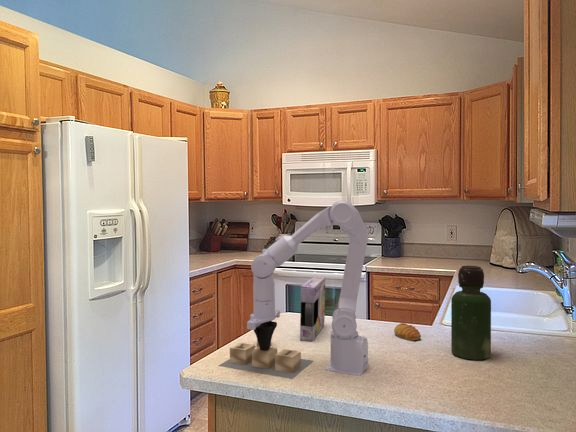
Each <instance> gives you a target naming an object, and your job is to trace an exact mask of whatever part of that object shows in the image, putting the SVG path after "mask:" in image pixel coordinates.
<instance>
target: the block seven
mask: <svg viewBox="0 0 576 432" xmlns="http://www.w3.org/2000/svg"><path fill="white" fill-rule="evenodd" d="M255 349H256V345H255V344H250V343H244V342H238V343H236V344H234V345H232V346H230V347H229V359H230V362H231V363H237V364H243V365H246V364H248V363H250V362H251V361H252V351H253V350H255Z"/></svg>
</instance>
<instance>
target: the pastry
mask: <svg viewBox="0 0 576 432" xmlns="http://www.w3.org/2000/svg"><path fill="white" fill-rule="evenodd" d="M393 332H394V334H395V336H397V338H400V339H402V340H406V341H411V342H413V341H417V340H421V338H422V335H421V333H420V331H419V329H417V328H416V327H415V326H413V325H412V324H407V323H405V322H401V323H399V324H397V325H396V326H395V327H394V329H393Z"/></svg>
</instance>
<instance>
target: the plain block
mask: <svg viewBox="0 0 576 432" xmlns="http://www.w3.org/2000/svg"><path fill="white" fill-rule="evenodd" d="M277 353H278V347H272V346H271V347H270V348H269V350H267V351H264V350H260V347H257V348H255V350H253V351H252V366H255V367H260V368H266V369H269V368H271V367H272V366H274V365H275V355H276V354H277Z"/></svg>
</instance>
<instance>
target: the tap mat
mask: <svg viewBox="0 0 576 432" xmlns="http://www.w3.org/2000/svg"><path fill="white" fill-rule="evenodd" d="M314 362H315V360H311V359H305V358H301V367H300V368H299V369H297V370H296V371H295V372H294V373H290V372H284V371H278V370H275V365H274V366H272V367H271V368H269V369H266V368H260V367H255V366H252V361H251V362H250V363H248V364H246V365H243V364H237V363H231V362H230V358H229V359H227V360H225V361H224V362H222V363H220V364H218V365H217V366H218V367H223V368H227V369H234V370H240V371H246V372H251V373H256V374H263V375H266V376H267V375H268V376H273V377H279V378H285V379H289V380H290V379H291V380H293V379H294V378H295V377H297V376H298V375H299V374H301V372H302V371H304V370H305V369H306V368H308V367H309V366H310V365H312V364H313V363H314Z"/></svg>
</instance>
